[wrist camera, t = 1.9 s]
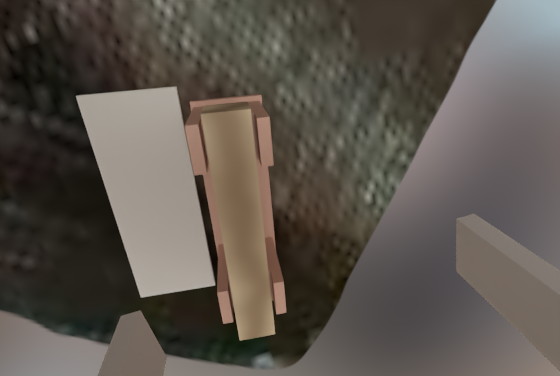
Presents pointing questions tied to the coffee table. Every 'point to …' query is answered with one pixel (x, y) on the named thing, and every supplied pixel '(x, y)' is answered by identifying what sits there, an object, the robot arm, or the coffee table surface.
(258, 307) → the rail
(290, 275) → the coffee table surface
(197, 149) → the stand
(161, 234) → the mat
